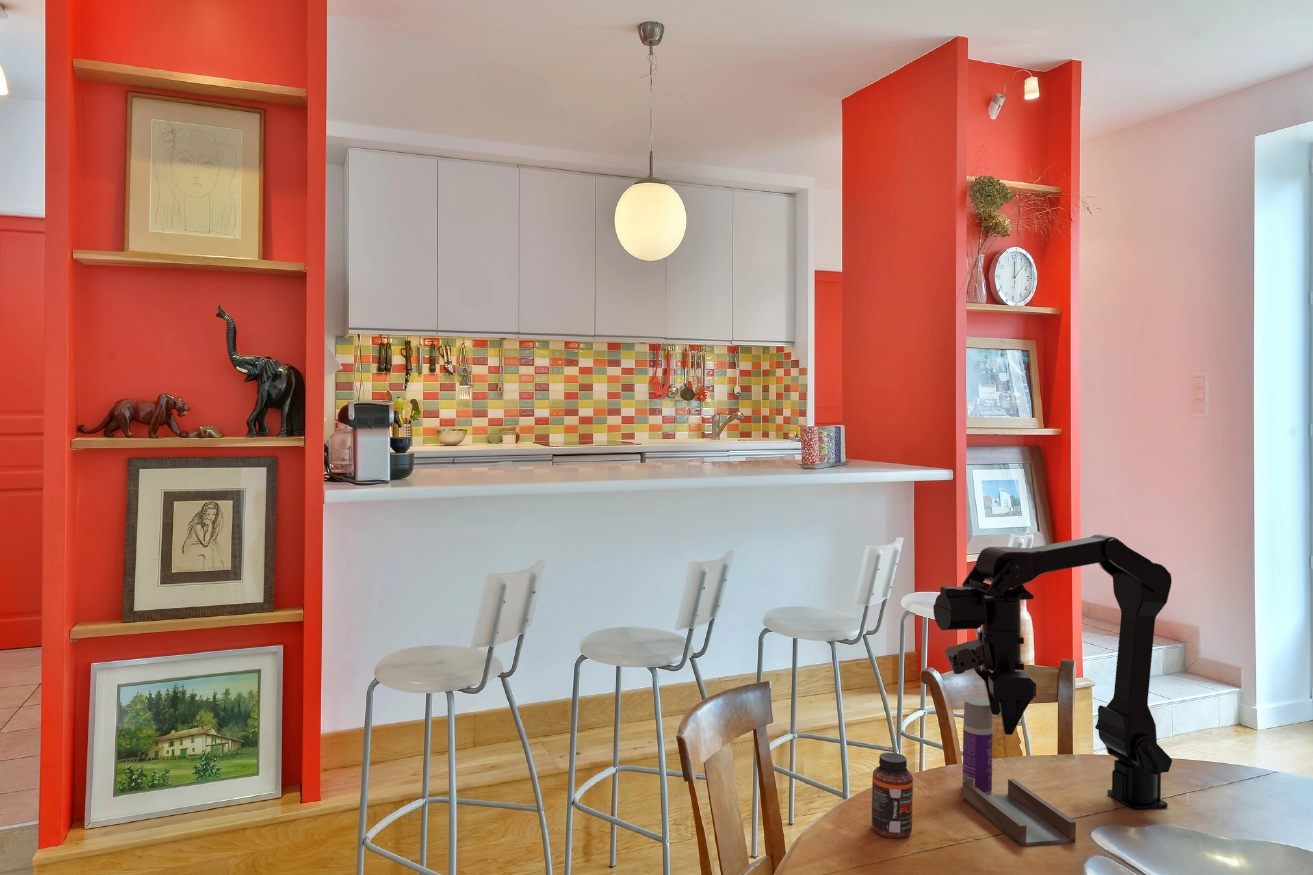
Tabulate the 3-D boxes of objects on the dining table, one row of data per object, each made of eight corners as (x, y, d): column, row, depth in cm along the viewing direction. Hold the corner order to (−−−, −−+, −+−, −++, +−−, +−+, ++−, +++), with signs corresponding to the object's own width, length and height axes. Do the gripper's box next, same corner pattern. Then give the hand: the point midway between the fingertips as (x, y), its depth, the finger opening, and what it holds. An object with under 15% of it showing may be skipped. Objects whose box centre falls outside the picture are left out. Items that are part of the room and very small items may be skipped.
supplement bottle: (905, 844, 127) (906, 767, 127) (866, 833, 130) (867, 758, 130) (916, 828, 132) (917, 754, 132) (878, 818, 136) (879, 746, 135)
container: (994, 796, 144) (995, 706, 144) (964, 793, 145) (965, 704, 145) (989, 785, 149) (990, 698, 148) (960, 782, 150) (961, 696, 149)
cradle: (1013, 796, 144) (1013, 778, 144) (1075, 841, 128) (1075, 821, 128) (963, 799, 143) (963, 781, 143) (1020, 846, 127) (1020, 826, 127)
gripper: (939, 613, 149) (940, 703, 149) (959, 640, 131) (959, 742, 131) (1008, 615, 147) (1008, 706, 148) (1037, 642, 129) (1037, 746, 129)
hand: (1001, 724), depth 139 cm, fingers open, 9 cm apart
